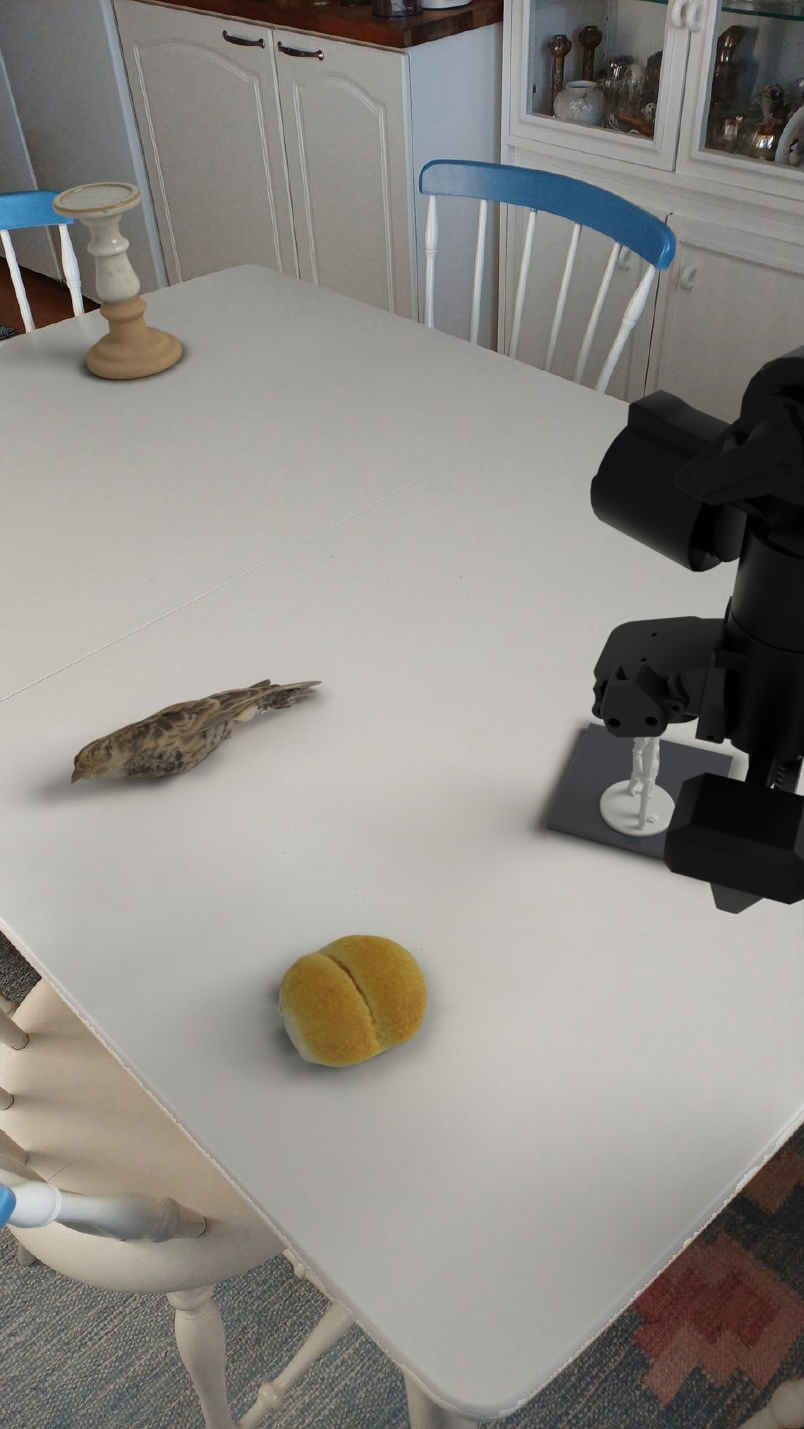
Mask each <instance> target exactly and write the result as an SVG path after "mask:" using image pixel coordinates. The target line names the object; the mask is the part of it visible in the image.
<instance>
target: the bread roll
mask: <svg viewBox="0 0 804 1429" xmlns="http://www.w3.org/2000/svg"><path fill="white" fill-rule="evenodd" d="M278 996H279V997H278V998H279V1001H278V1009H277V1010H278V1013H279V1015H280V1016H279V1017H280V1019H281V1021H282V1023H283V1026H284V1029H285V1031H286V1034H287V1035H288V1038H289V1039H290V1041H291V1042H292V1045H293V1046H294V1047H295V1049H296V1050H297V1053H298V1055H299V1056H300V1057H301V1059H303V1060H304V1061H305V1062H309V1063H312V1064H317V1065H321V1066H322V1065H323V1066H326V1067H333V1068H347V1067H351V1066H354V1065H358V1064H361V1063H364V1062H366V1061H368V1060H370V1059H372V1058H374V1057H375V1056H378V1055H380V1054H381V1053H384V1052H386V1051H387V1050H390V1049H393V1048H396V1047H398V1046H400V1045H403V1044H405V1043H407V1042H408V1041H409V1040H412V1038H414V1037H415V1036H416V1034H417V1033H418V1032H419V1030H420V1029H421V1025H422V1022H423V1020H424V1017H425V1013H426V1007H427V1003H428V1002H427V999H428V994H427V982H426V978H425V974H424V972H423V971H422V969H421V967H420V965H419V963H418V962H417V960H416V958H415V957H414V956H413V955H412V953H410V951H408V950H407V949H406V948H405V947H404V946H403V945H401V944H400V943H398V942H397V941H395V940H391V939H389V938H387V937H383V936H377V935H369V934H353V935H352V934H351V935H347V936H343V937H340V938H338V939H336V940H334V941H332V942H330V943H328V944H327V945H325V946H323V947H321V948H320V949H319V950H316V951H314V952H312V953H308V954H306V955H304V956H302V957H301V956H300V958H298V959H297V960H296V961H295V962H294V963H293V964H292V965H291V966H290V967H289V968H287V970H286V972H285V973H284V975H283V977H282V980H281V982H280V988H279V995H278Z"/></svg>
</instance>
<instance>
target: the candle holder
mask: <svg viewBox="0 0 804 1429" xmlns="http://www.w3.org/2000/svg"><path fill="white" fill-rule="evenodd" d="M142 197H143V194H142V191H141V189H140V188H139V186H137V185H135V184H133V183H129V182H123V181H102V182H93V183H87V184H82V185H78V186H74V187H71V188H68V189H67V190H64V191H62V192H60V193H58V194H56V196H54V197H53V198H52V201H51V206H52V210H53V211H54V213H55V214H56V215H58V216H60V217H63V218H66V219H67V218H68V219H73V220H79V221H80V223H81V224H82V225H84V226H86V228H87V229H88V231H89V233H90V239H91V240H90V241H89V243H88V244H87V246H86V249H87V252H88V253H89V255H92V256H93V257H94V262H95V281H94V282H95V286H94V287H95V293H96V294H97V296H99V297H100V298H101V299H102V302H101V305H100V307H99V314H100V315H101V317H103V318H104V319H105V320H107V323H108V329H109V330H108V331H109V332H108V333H107V334H105V335H103V336H102V337H100V339H99V340H98V341H97V342H96V343H95V344H93V345H92V346H91V347H90V348H89V349H88V351H87V353H86V356H85V362H86V366H87V367H88V369H89V371H90V372H91V373H93V375H95V376H98V377H101V378H105V379H109V380H110V379H111V380H133V379H139V378H145V377H149V376H153V375H155V374H158V373H161V372H163V371H165V370H167V369H169V368H171V367H172V366H173V365H175V364H176V363H177V362H178V361H179V360H180V358H181V357H182V353H183V348H182V343H181V341H180V340H179V338H177V337H176V336H175V335H173V334H172V333H170V332H167V331H163V330H161V329H159V328H157V327H153V326H147V323H146V320H145V317H144V314H145V311H146V309H147V307H148V306H147V302H146V301H145V299H144V298H142V297H141V296H139V295H138V294H139V292H140V290H141V280H140V278H139V277H138V275H137V273H136V272H135V270H134V268H133V266H132V264H131V261H130V260H129V256H128V254H127V250H128V249H129V247H130V241H129V240H128V239H127V238H126V237H124V236H123V235H122V234H121V232H120V224H119V223H120V221H121V220H122V218H123V215H124V213H125V212H127V211H129V210H131V209H133V208H135V207H136V206H138V205H139V204H140V203H141V201H142V199H143V198H142Z"/></svg>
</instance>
